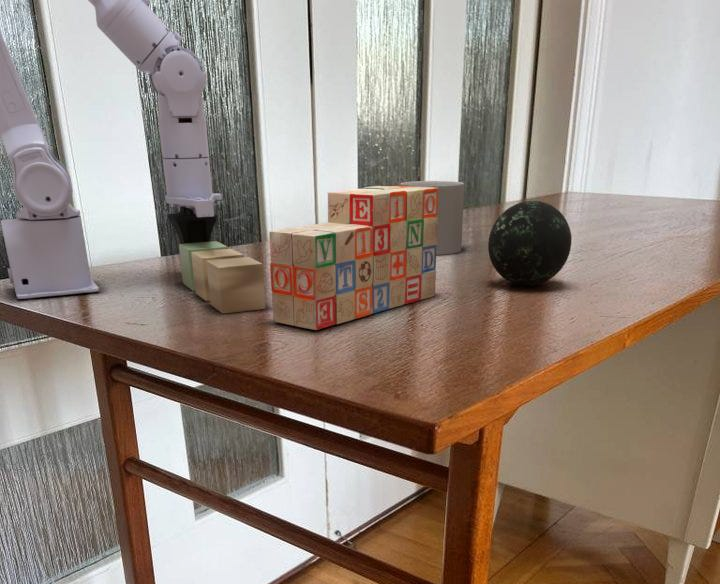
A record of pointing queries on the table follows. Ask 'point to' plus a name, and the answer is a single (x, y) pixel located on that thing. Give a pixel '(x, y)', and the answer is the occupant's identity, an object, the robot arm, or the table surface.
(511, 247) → the decorative stone
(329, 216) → the stack of blocks
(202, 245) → the sage block
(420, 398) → the table surface
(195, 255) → the middle birch block
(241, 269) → the front birch block
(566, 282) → the table surface
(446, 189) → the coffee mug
